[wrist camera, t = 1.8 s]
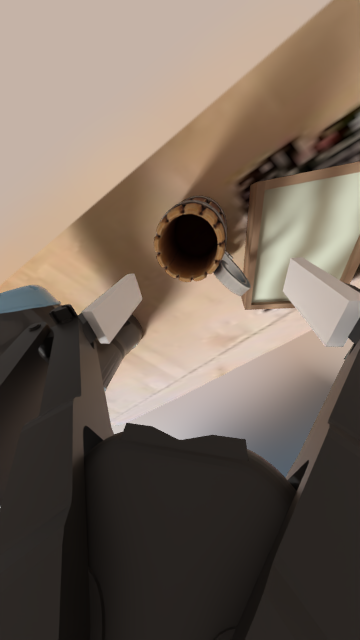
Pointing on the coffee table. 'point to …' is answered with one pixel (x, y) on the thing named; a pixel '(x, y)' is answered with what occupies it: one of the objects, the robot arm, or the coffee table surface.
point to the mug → (197, 244)
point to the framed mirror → (301, 230)
